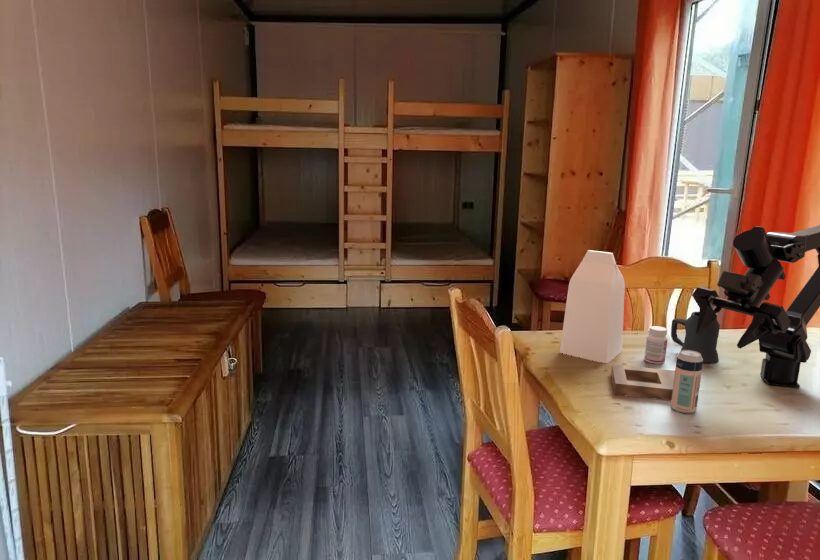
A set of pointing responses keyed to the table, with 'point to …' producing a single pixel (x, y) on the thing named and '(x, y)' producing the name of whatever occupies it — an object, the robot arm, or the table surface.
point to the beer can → (687, 381)
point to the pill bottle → (656, 345)
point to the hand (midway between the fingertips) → (717, 340)
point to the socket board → (643, 382)
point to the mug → (698, 338)
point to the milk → (594, 309)
